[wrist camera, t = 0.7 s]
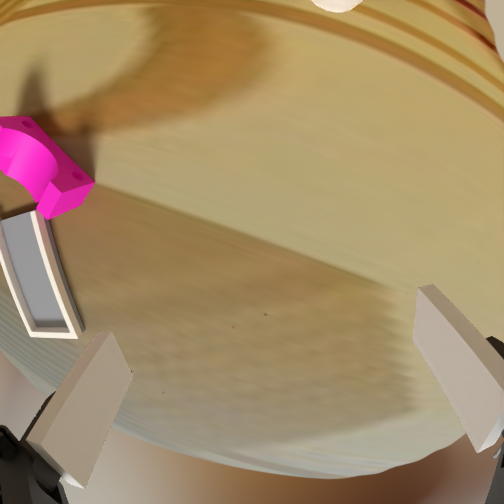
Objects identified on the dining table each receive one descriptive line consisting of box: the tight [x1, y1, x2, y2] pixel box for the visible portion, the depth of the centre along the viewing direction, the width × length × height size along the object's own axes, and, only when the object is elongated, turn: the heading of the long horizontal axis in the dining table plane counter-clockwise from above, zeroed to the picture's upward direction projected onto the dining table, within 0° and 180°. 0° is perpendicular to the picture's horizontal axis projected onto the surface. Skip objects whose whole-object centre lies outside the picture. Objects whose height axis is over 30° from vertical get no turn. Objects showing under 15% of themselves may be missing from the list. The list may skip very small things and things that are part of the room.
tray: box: [0, 209, 85, 339], centre depth 36 cm, size 19×11×2 cm, turn 8°
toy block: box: [0, 116, 95, 220], centre depth 29 cm, size 15×6×8 cm, turn 47°
